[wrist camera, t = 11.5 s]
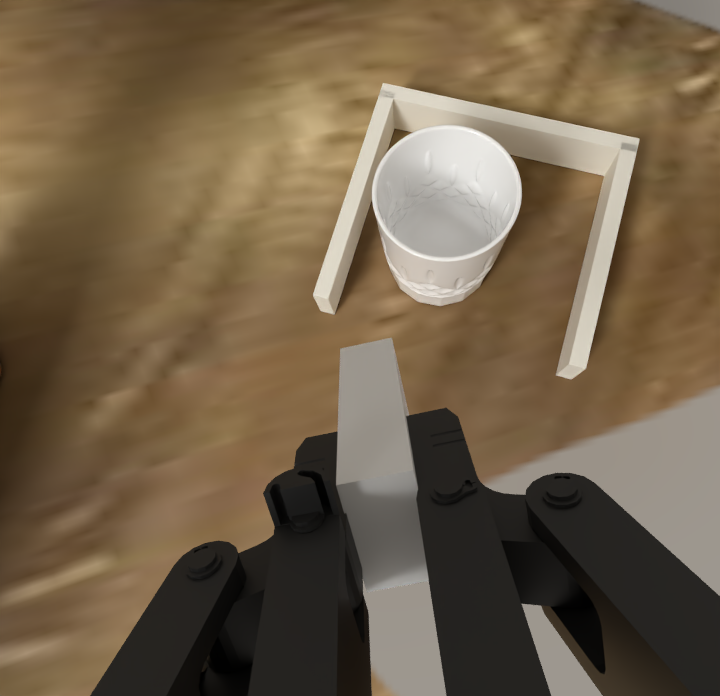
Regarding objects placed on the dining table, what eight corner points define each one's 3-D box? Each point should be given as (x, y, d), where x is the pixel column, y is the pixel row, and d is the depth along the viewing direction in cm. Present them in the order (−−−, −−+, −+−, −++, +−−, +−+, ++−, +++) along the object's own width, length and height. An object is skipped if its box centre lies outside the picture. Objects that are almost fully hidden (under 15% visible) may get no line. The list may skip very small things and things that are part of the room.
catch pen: (571, 379, 40) (585, 368, 37) (320, 310, 43) (312, 295, 39) (622, 166, 43) (639, 138, 40) (385, 113, 46) (383, 82, 42)
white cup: (479, 194, 44) (498, 108, 34) (511, 299, 42) (541, 240, 32) (369, 221, 44) (357, 144, 34) (396, 327, 42) (391, 276, 32)
